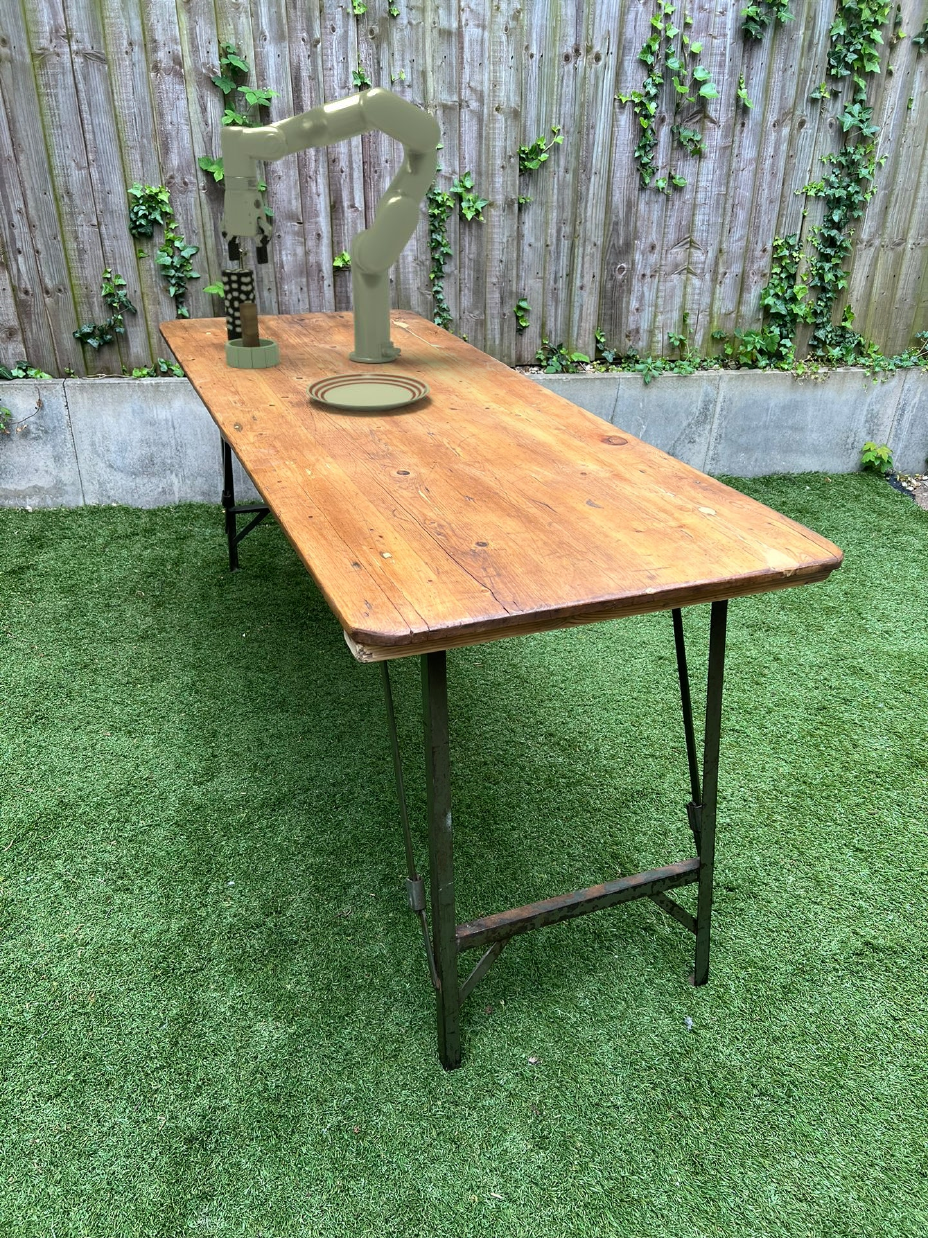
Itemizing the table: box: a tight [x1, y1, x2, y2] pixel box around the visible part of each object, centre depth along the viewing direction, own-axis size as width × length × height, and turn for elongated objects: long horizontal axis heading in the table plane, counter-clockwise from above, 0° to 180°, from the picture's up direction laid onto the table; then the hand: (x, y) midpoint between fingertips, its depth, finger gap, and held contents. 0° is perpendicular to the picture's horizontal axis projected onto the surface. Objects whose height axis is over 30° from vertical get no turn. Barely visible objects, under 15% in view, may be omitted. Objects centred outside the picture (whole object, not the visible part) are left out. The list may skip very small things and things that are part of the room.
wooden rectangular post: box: [239, 303, 260, 348], centre depth 231 cm, size 3×3×14 cm
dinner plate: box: [305, 372, 431, 412], centre depth 203 cm, size 28×27×3 cm
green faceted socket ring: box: [224, 337, 281, 370], centre depth 233 cm, size 13×13×5 cm
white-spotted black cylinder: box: [220, 268, 257, 342], centre depth 246 cm, size 8×8×20 cm
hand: (248, 261), depth 224 cm, fingers open, 9 cm apart
